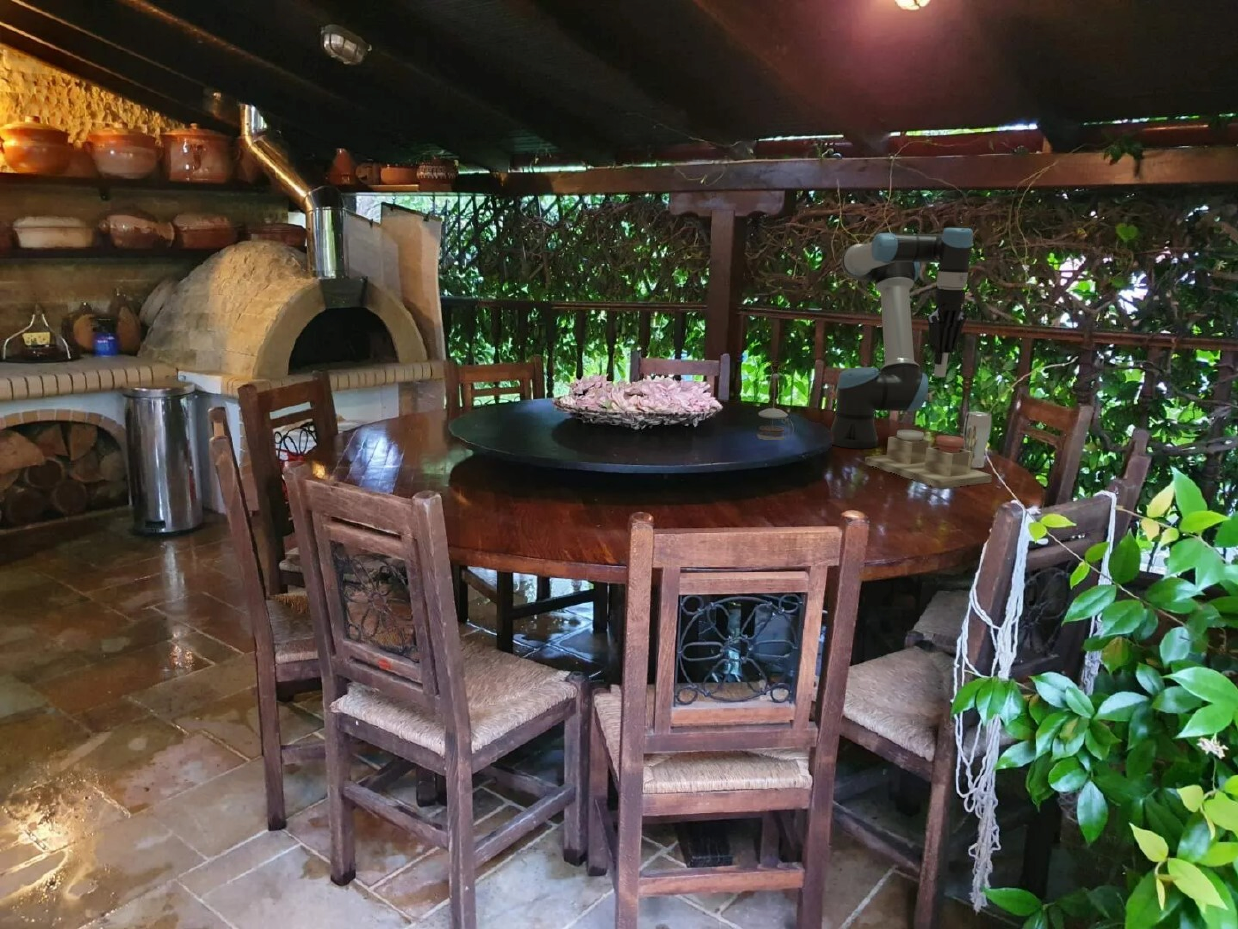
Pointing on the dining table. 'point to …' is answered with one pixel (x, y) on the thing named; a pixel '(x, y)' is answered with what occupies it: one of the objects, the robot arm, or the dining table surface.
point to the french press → (772, 414)
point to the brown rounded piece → (950, 443)
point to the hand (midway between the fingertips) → (939, 376)
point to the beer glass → (976, 436)
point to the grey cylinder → (910, 435)
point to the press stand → (928, 464)
